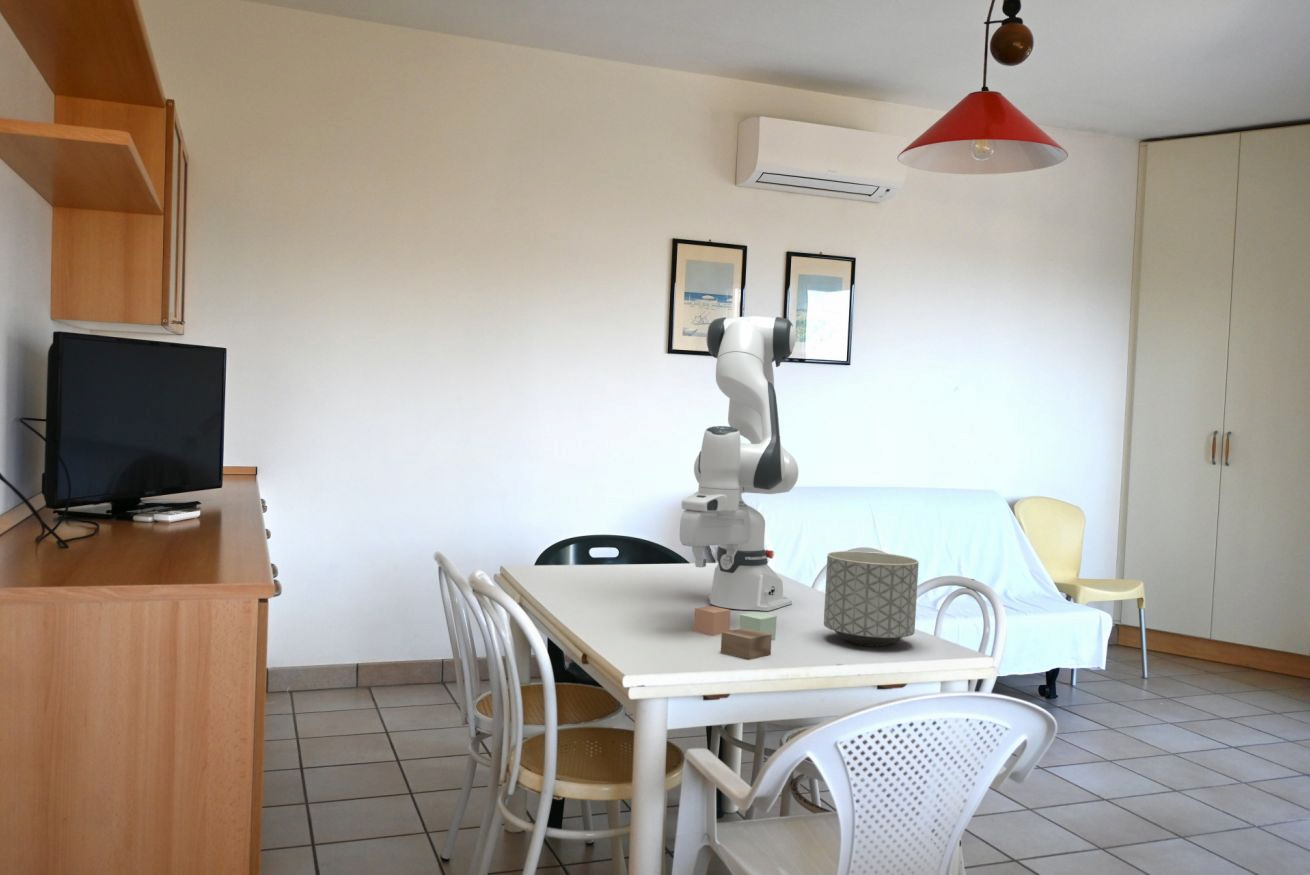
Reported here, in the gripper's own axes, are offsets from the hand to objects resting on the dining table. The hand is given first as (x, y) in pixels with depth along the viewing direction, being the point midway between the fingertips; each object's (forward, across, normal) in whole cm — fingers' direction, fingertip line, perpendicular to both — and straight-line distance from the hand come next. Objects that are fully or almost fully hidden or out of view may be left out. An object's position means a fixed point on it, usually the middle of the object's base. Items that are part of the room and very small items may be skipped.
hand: (714, 565), depth 215 cm
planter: (+14, -22, +26) cm, 36 cm away
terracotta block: (+14, 0, 0) cm, 14 cm away
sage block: (+14, -4, +10) cm, 18 cm away
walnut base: (+14, +10, +17) cm, 24 cm away
